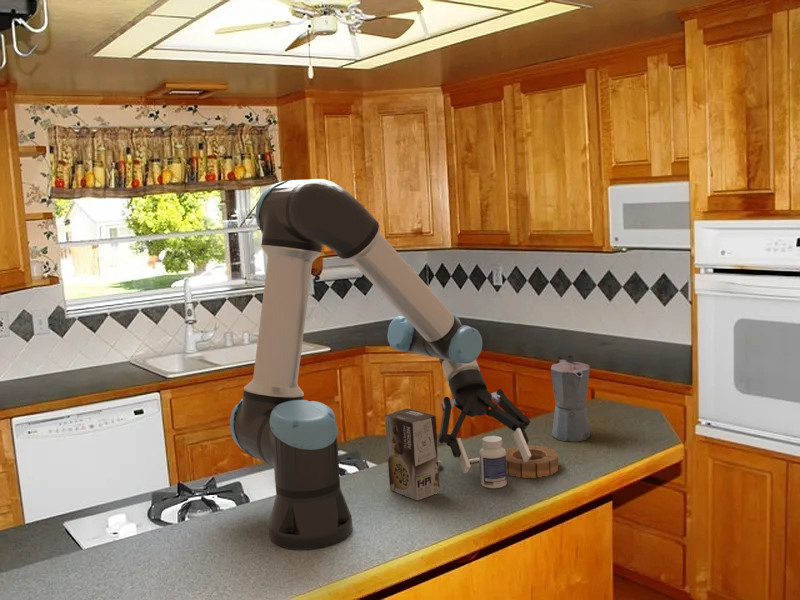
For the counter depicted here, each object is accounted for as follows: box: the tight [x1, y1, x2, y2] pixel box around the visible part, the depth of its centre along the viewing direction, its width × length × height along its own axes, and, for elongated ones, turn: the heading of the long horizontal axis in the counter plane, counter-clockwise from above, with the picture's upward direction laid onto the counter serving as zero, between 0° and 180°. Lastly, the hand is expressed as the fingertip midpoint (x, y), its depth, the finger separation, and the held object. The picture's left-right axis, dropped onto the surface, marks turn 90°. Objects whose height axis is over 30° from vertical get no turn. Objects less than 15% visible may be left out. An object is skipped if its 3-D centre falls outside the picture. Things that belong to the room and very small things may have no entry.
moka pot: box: [550, 354, 591, 443], centre depth 197 cm, size 10×15×20 cm, turn 14°
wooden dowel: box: [468, 457, 480, 464], centre depth 186 cm, size 16×1×1 cm, turn 110°
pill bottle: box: [478, 435, 508, 489], centre depth 170 cm, size 5×5×10 cm
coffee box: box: [384, 408, 440, 501], centre depth 168 cm, size 9×6×16 cm
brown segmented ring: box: [505, 445, 559, 479], centre depth 178 cm, size 12×12×3 cm
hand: (498, 464), depth 168 cm, fingers open, 13 cm apart
